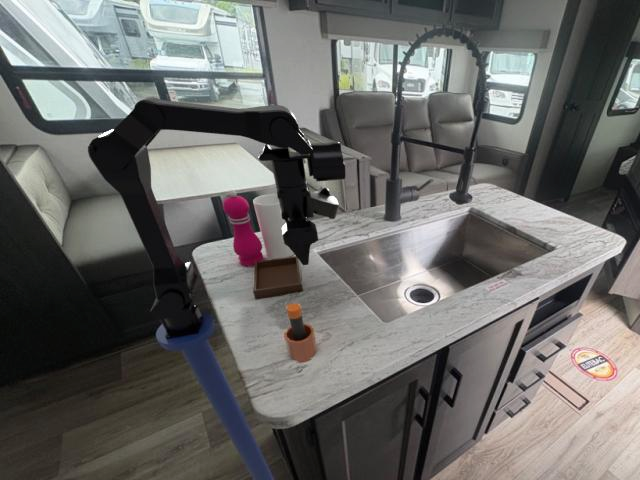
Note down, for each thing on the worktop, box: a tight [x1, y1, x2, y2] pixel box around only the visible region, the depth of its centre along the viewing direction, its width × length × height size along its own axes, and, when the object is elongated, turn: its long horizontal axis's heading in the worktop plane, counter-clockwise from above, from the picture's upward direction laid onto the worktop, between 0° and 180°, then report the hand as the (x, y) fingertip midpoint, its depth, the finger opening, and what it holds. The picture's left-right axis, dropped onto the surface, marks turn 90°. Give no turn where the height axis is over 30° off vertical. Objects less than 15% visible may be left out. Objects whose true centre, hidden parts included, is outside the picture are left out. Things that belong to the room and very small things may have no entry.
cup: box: [252, 193, 295, 259], centre depth 91 cm, size 8×8×16 cm
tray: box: [252, 255, 304, 300], centre depth 83 cm, size 11×14×2 cm
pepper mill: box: [222, 190, 265, 267], centre depth 85 cm, size 7×7×20 cm
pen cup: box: [283, 322, 318, 364], centre depth 62 cm, size 5×5×6 cm
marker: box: [286, 302, 306, 341], centre depth 60 cm, size 2×2×11 cm
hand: (303, 254), depth 71 cm, fingers open, 9 cm apart
